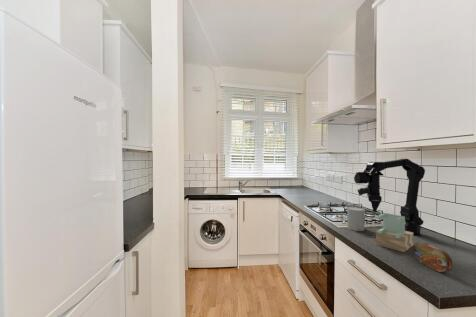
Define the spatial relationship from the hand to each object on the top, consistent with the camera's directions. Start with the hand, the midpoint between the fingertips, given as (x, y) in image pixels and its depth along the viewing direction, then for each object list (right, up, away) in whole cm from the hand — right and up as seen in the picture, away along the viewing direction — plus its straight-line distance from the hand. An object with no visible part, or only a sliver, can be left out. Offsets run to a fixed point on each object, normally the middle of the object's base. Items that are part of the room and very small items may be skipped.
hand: (373, 210), depth 132 cm
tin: (0, -14, -39) cm, 42 cm away
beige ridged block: (0, -14, -17) cm, 22 cm away
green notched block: (-3, -7, -20) cm, 21 cm away
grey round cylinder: (-6, -14, +9) cm, 18 cm away
